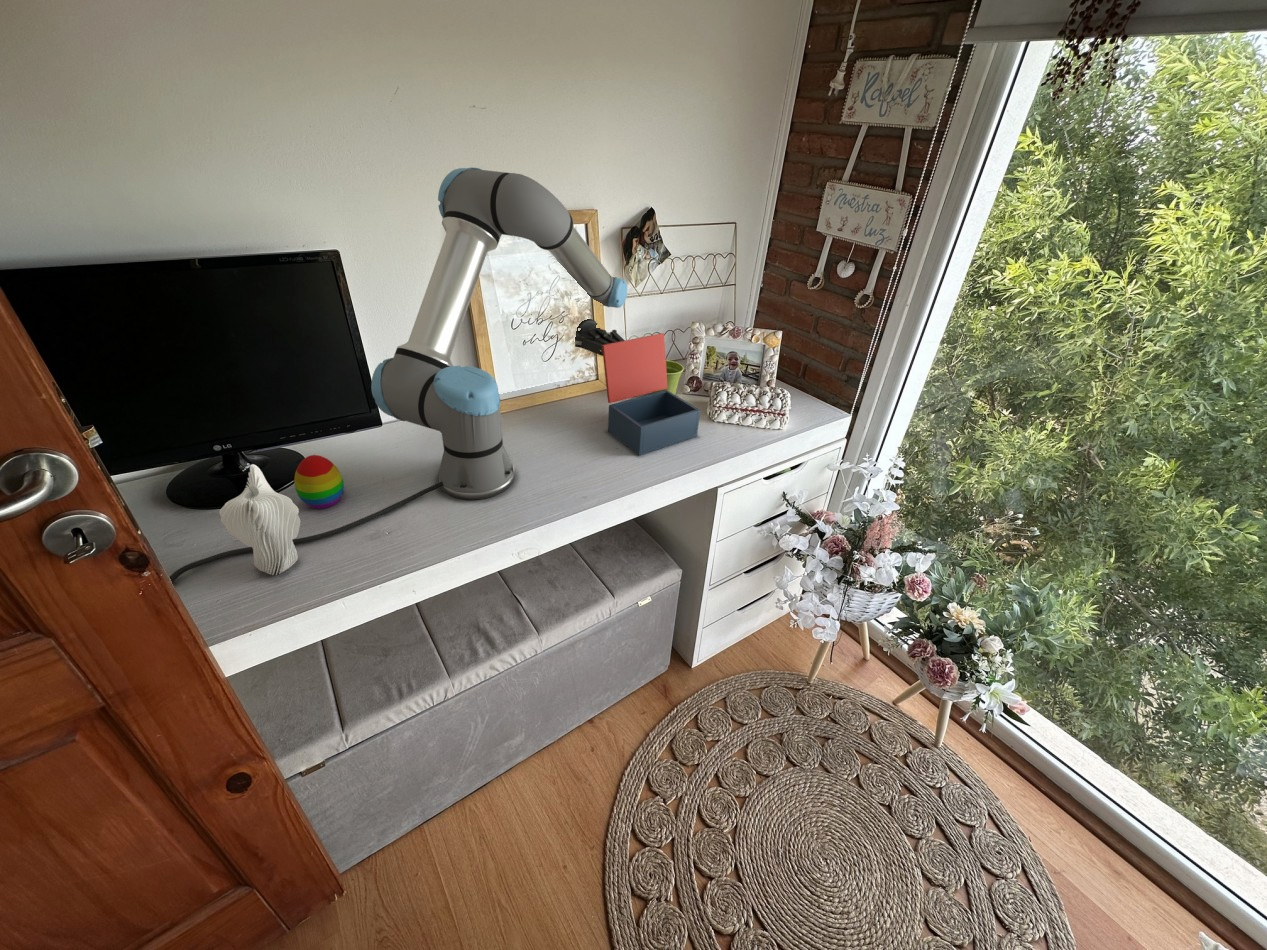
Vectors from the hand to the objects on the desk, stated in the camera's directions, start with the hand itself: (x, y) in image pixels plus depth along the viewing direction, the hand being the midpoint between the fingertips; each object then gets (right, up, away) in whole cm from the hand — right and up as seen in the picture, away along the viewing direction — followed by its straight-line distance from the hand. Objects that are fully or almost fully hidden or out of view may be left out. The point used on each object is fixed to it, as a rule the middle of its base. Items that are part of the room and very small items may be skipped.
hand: (631, 358), depth 140 cm
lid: (+1, -2, -1) cm, 3 cm away
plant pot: (+9, -6, +21) cm, 23 cm away
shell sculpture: (-59, -44, -43) cm, 85 cm away
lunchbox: (+5, -18, +2) cm, 19 cm away
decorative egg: (-60, -33, -27) cm, 74 cm away
